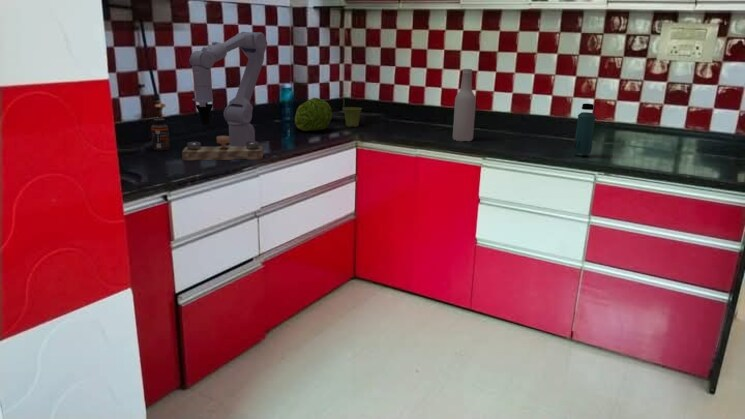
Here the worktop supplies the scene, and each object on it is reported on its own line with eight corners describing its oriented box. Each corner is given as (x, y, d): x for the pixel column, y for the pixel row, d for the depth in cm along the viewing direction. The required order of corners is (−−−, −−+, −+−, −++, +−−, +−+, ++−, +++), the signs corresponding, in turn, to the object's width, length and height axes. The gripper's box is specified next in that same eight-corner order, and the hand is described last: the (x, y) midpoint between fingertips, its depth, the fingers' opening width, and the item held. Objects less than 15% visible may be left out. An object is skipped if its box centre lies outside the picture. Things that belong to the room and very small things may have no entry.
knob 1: (187, 155, 195) (186, 144, 194) (189, 153, 199) (188, 141, 198) (200, 155, 195) (199, 144, 194) (202, 152, 200) (201, 141, 198)
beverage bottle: (593, 156, 215) (600, 103, 210) (586, 158, 211) (593, 105, 205) (576, 153, 220) (583, 102, 214) (569, 156, 215) (576, 103, 209)
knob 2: (246, 154, 198) (245, 143, 197) (246, 152, 202) (246, 141, 201) (258, 154, 199) (258, 143, 198) (259, 152, 203) (258, 141, 202)
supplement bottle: (162, 151, 206) (159, 120, 203) (149, 150, 208) (146, 119, 205) (173, 148, 211) (170, 118, 208) (160, 147, 214) (158, 117, 210)
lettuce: (288, 135, 267) (320, 137, 273) (301, 127, 244) (336, 129, 250) (288, 104, 267) (320, 106, 273) (301, 93, 244) (336, 95, 250)
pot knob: (216, 149, 196) (216, 137, 195) (217, 146, 200) (217, 135, 199) (229, 149, 196) (229, 137, 195) (230, 146, 201) (229, 135, 199)
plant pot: (338, 125, 274) (338, 108, 272) (351, 124, 281) (351, 106, 279) (352, 128, 268) (353, 109, 266) (365, 126, 275) (366, 108, 273)
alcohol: (449, 140, 242) (454, 68, 233) (456, 137, 250) (460, 68, 241) (469, 142, 238) (474, 69, 229) (475, 139, 246) (480, 69, 237)
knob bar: (182, 160, 193) (182, 151, 192) (186, 155, 201) (185, 146, 200) (262, 159, 197) (262, 150, 196) (263, 154, 206) (262, 146, 205)
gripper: (193, 84, 204) (196, 121, 208) (189, 87, 190) (191, 127, 194) (214, 84, 205) (216, 121, 209) (210, 88, 191) (212, 127, 195)
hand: (205, 124), depth 202 cm, fingers closed
